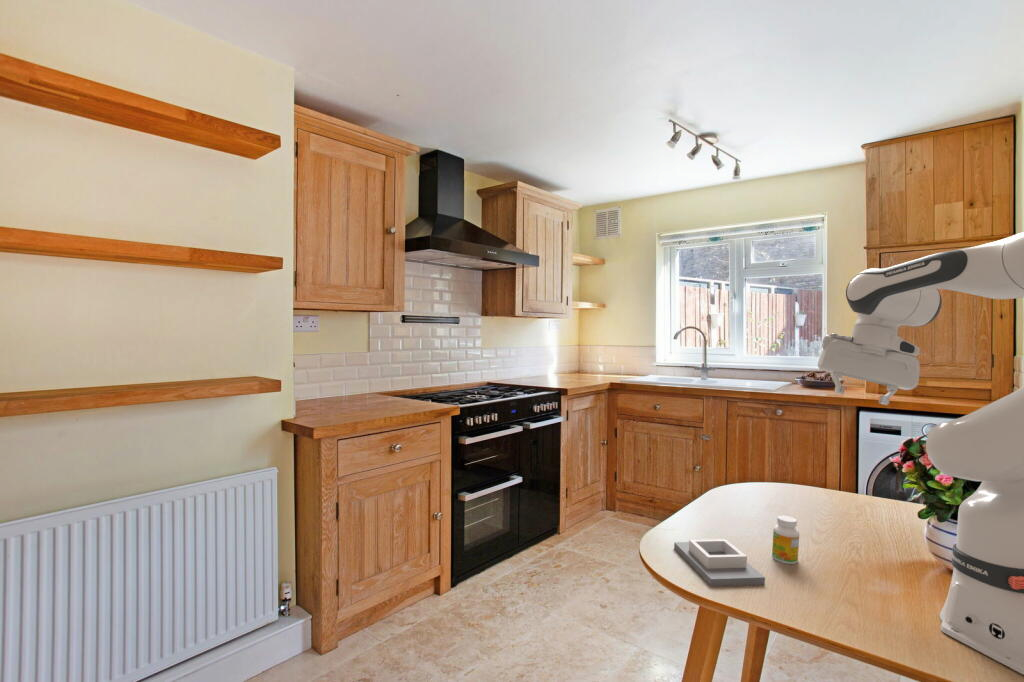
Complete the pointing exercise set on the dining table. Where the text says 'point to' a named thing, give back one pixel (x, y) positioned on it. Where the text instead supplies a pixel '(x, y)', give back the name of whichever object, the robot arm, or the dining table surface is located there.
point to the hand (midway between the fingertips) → (861, 398)
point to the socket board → (719, 562)
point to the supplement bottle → (785, 540)
